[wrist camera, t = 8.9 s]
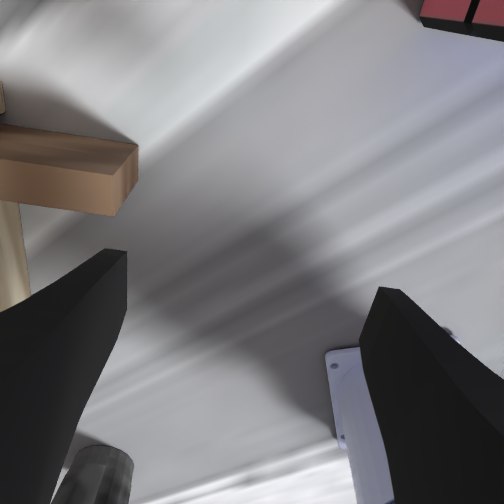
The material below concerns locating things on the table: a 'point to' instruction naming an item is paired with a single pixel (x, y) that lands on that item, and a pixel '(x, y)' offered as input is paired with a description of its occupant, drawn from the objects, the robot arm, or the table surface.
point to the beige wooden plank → (11, 250)
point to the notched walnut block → (65, 170)
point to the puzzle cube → (465, 17)
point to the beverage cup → (97, 478)
